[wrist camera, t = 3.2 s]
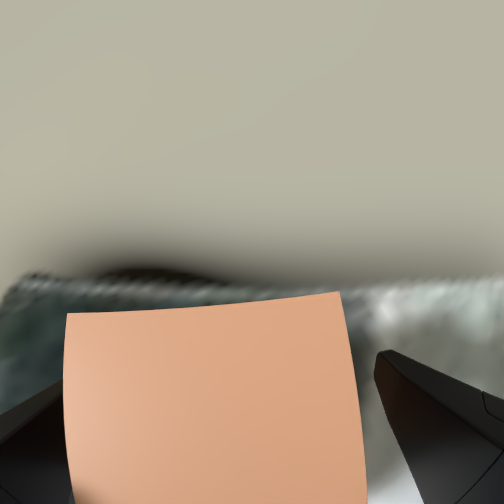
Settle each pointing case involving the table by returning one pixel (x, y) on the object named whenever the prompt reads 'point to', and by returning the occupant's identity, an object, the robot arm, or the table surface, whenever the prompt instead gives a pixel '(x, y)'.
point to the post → (214, 405)
